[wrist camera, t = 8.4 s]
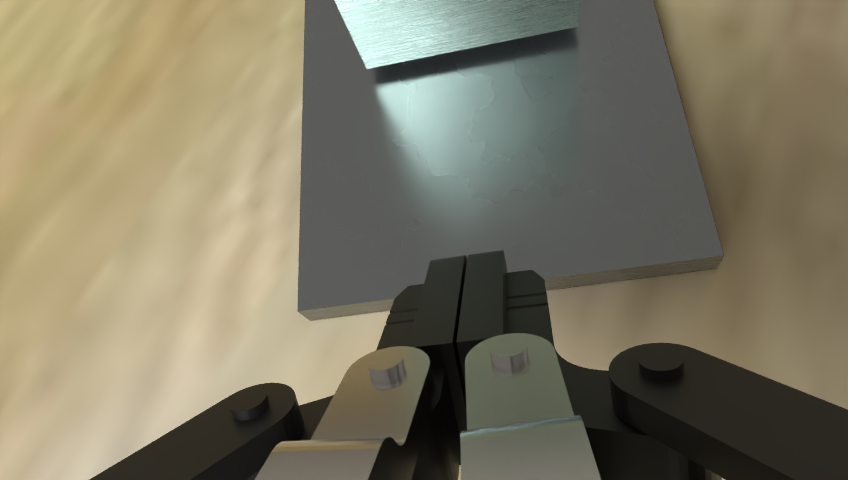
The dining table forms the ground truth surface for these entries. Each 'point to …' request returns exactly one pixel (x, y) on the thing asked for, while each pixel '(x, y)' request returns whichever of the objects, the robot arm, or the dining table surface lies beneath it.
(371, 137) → the bearing block
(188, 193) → the dining table surface
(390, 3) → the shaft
